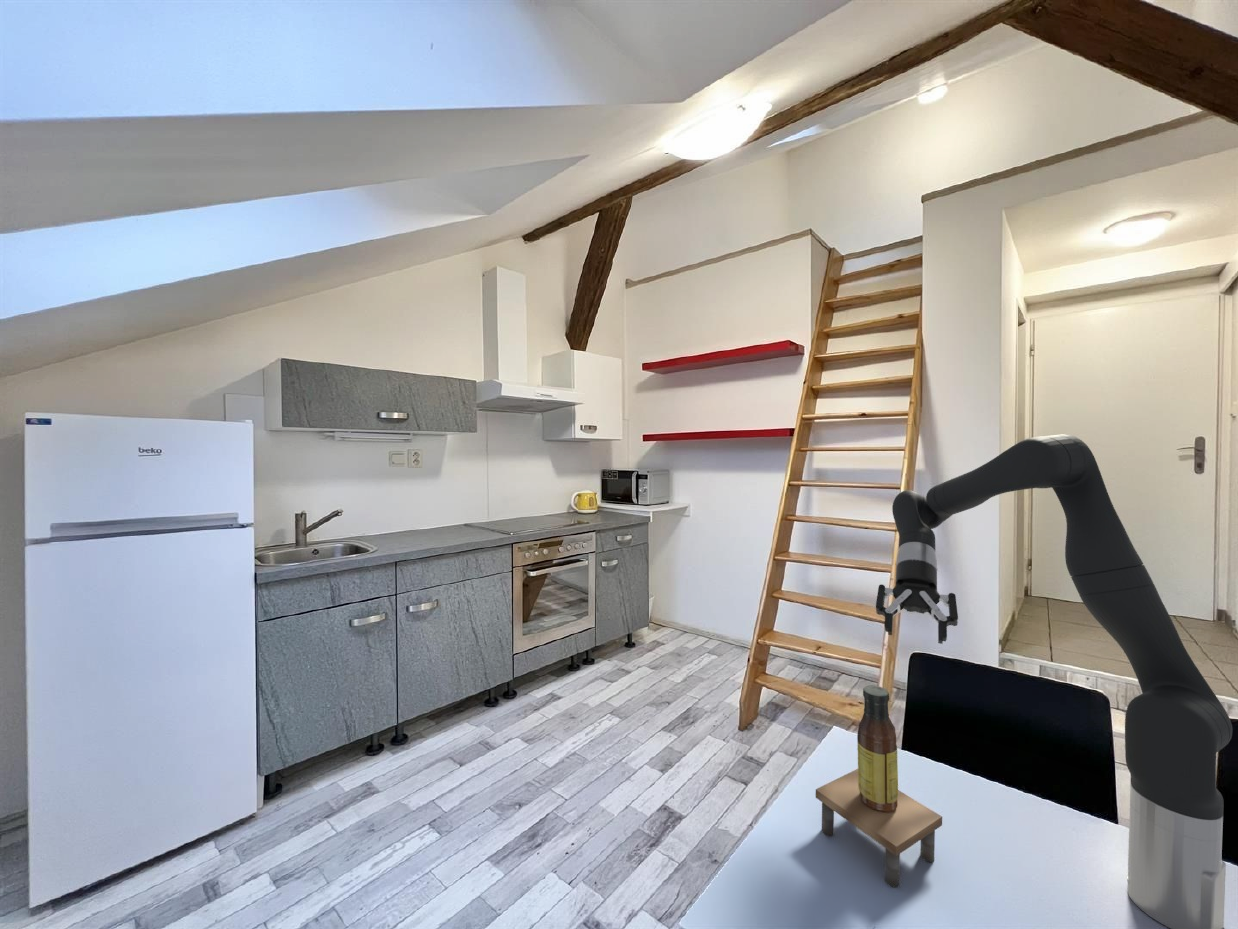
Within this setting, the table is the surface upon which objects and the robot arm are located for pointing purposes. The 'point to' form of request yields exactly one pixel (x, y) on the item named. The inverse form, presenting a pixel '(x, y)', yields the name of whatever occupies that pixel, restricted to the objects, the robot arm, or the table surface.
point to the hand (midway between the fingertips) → (914, 637)
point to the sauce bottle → (877, 752)
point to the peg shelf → (881, 822)
